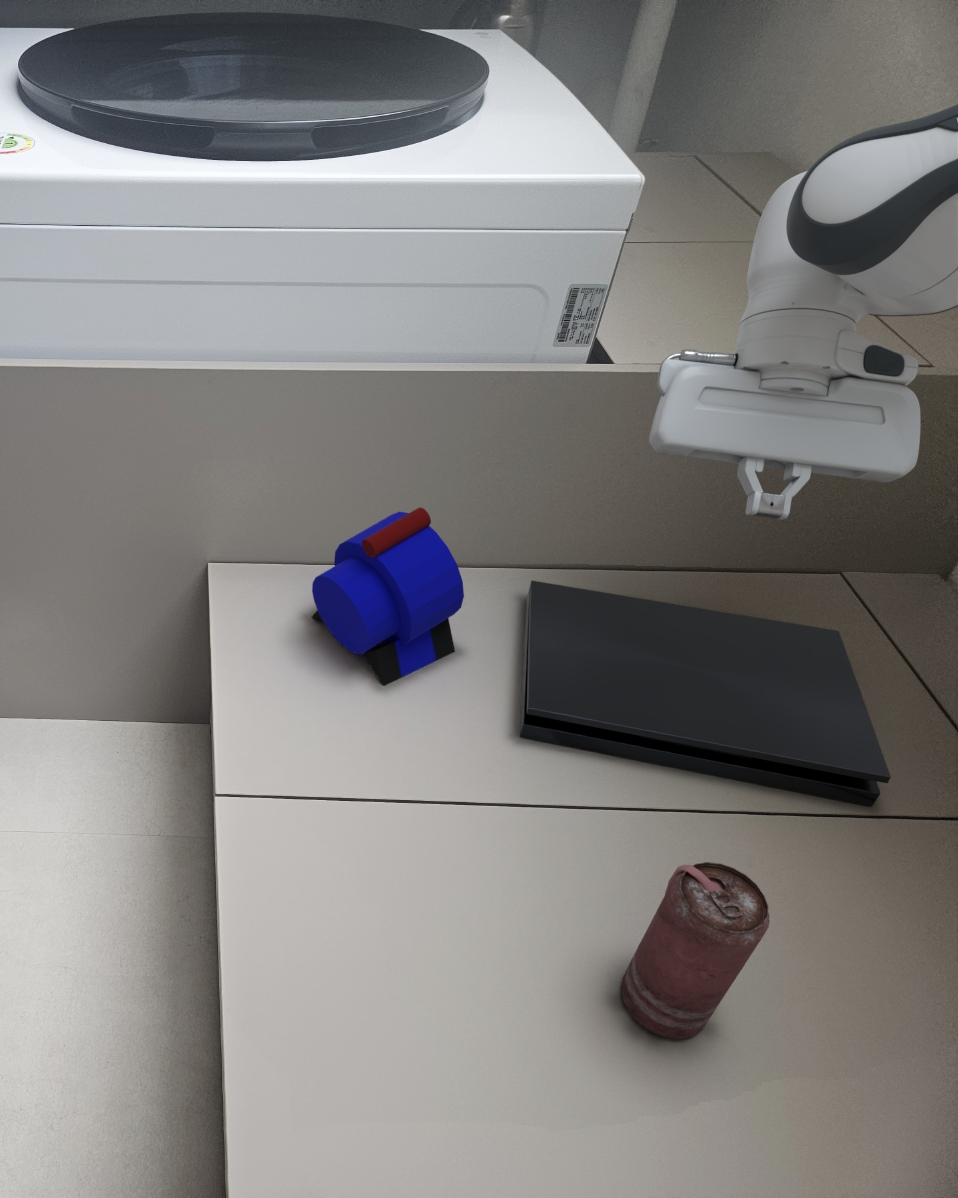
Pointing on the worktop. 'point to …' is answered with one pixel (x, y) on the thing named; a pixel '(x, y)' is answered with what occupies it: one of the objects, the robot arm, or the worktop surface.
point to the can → (694, 948)
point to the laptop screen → (699, 679)
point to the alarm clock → (392, 595)
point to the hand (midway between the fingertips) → (766, 516)
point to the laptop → (690, 754)
